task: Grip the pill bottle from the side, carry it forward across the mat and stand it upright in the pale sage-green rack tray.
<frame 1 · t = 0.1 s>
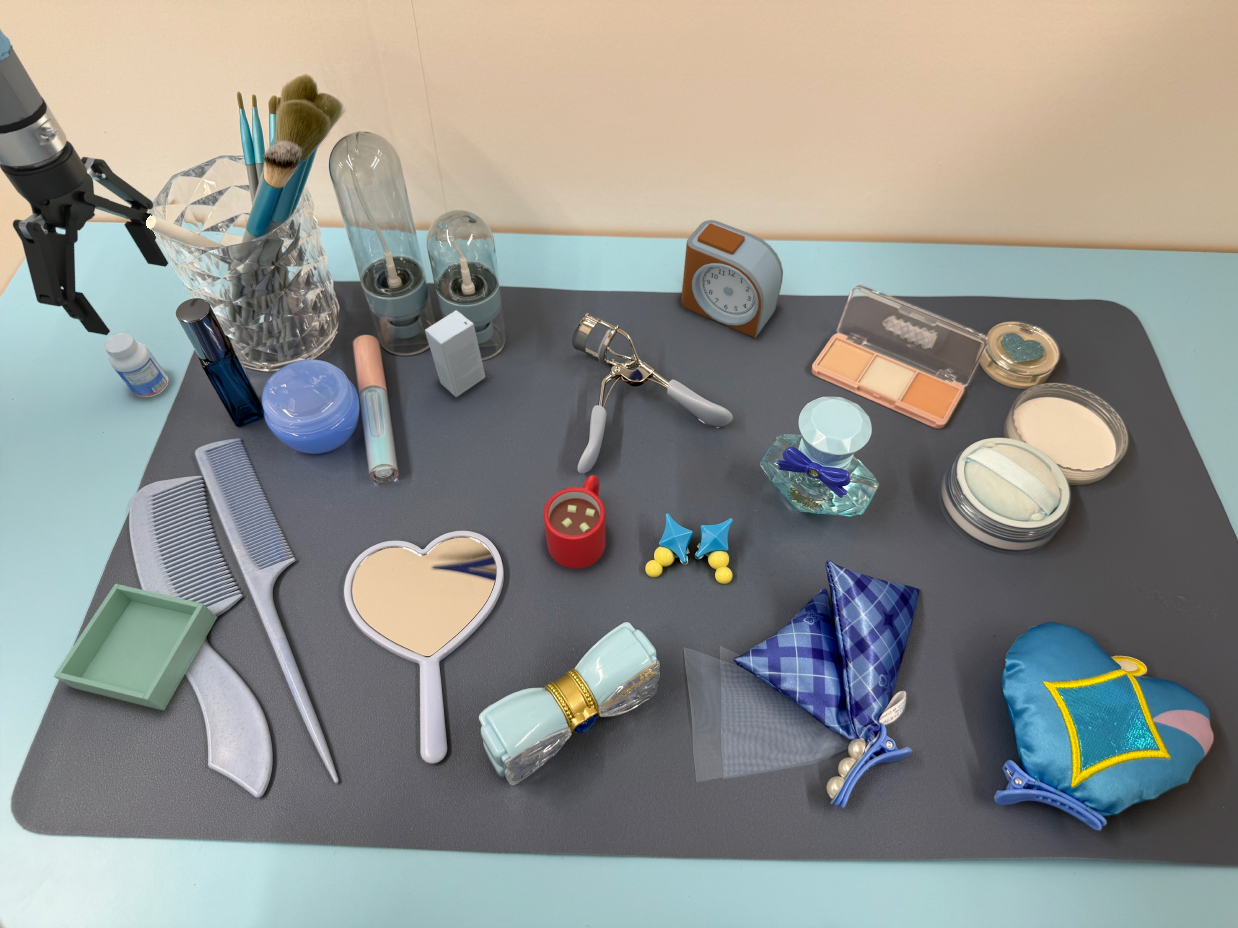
hand: (130, 296, 103), 20 cm above the table, tool pointing down, fingers open, 13 cm apart
mug: (581, 531, 106), on the table
alarm clock: (725, 308, 131), on the table
rack tray: (147, 651, 95), on the table
cosmetic box: (462, 382, 121), on the table
pill bottle: (151, 386, 120), on the table
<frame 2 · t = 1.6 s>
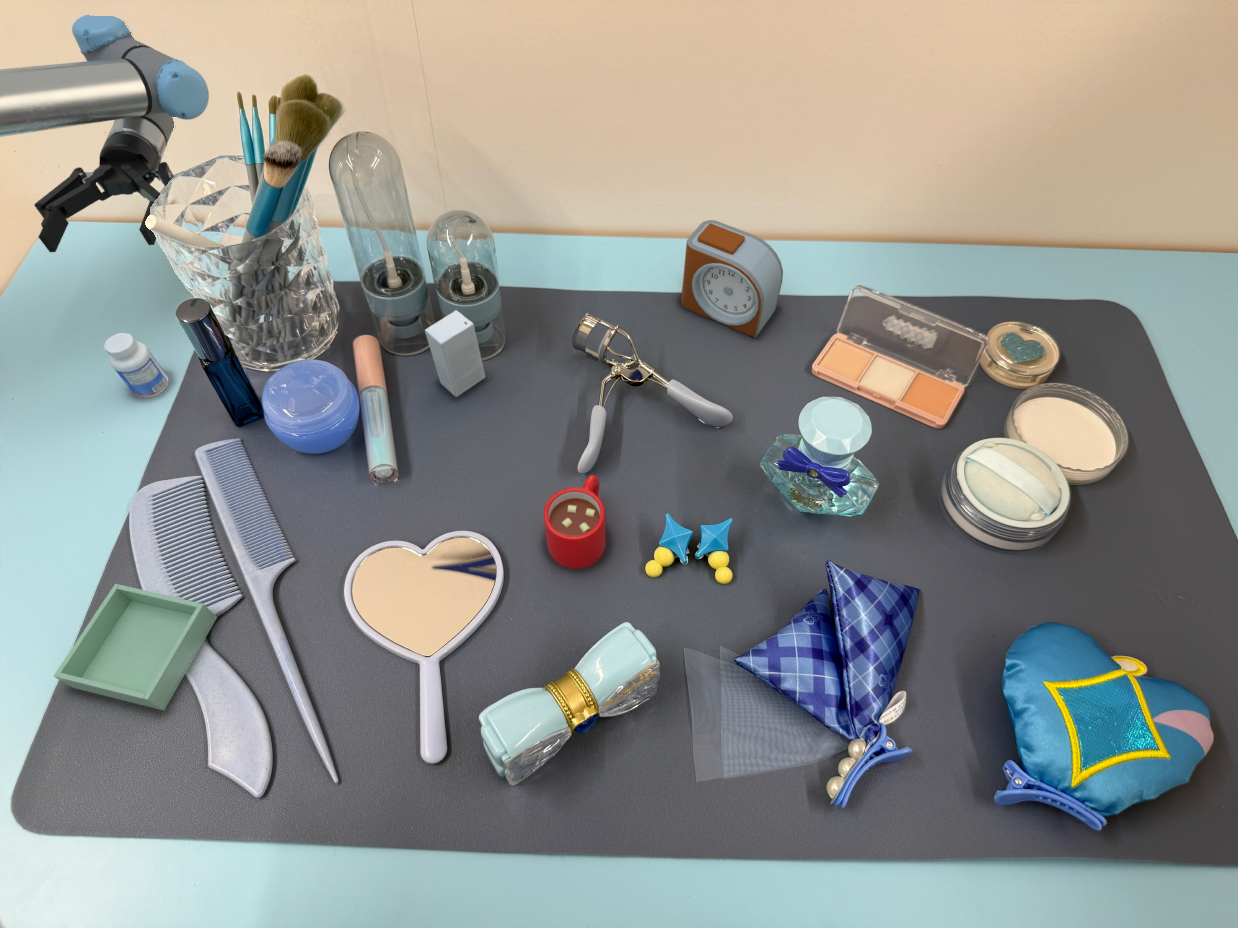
hand: (96, 241, 109), 20 cm above the table, tool horizontal, fingers open, 13 cm apart
nothing on the table moved.
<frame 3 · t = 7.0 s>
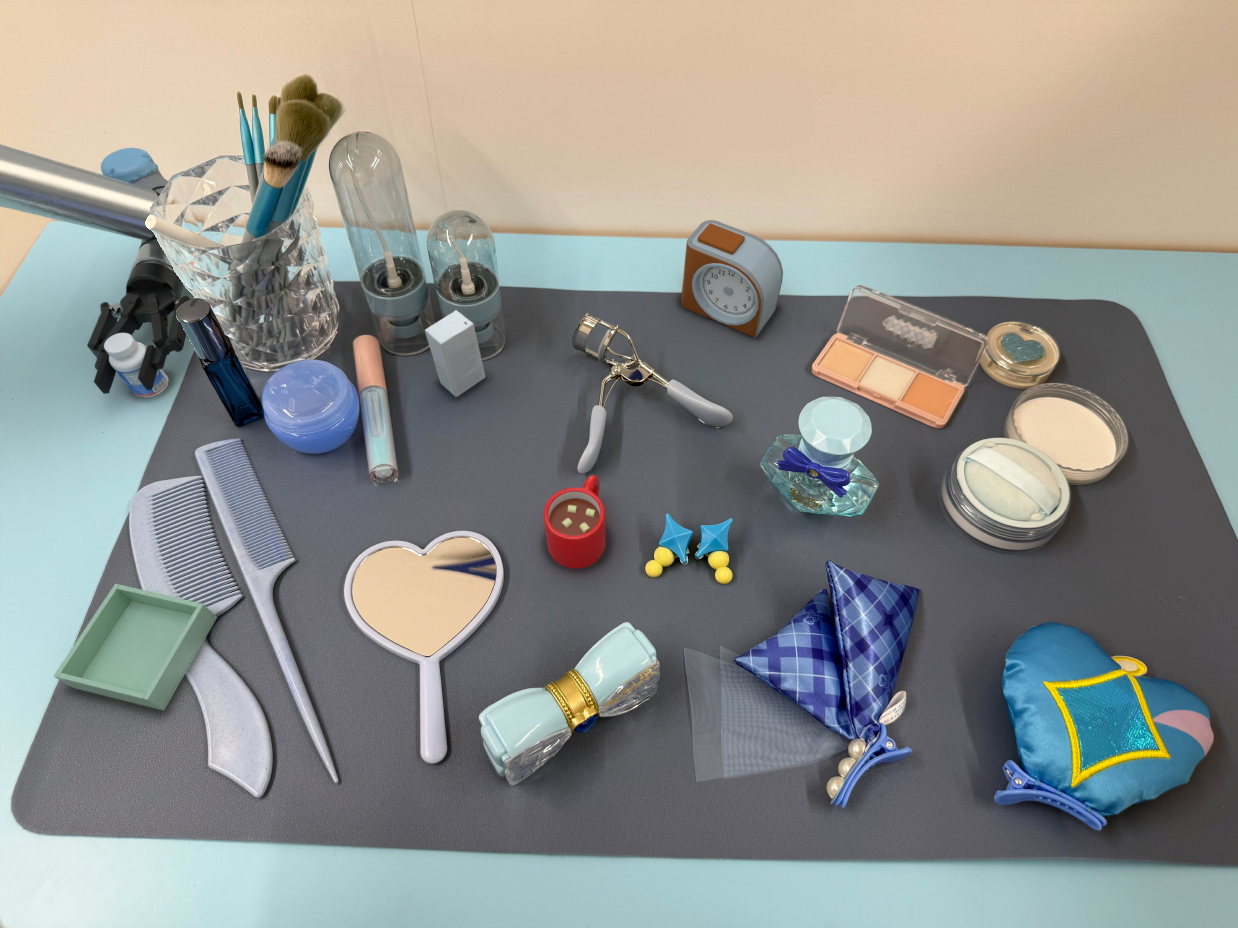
hand: (123, 385, 112), 6 cm above the table, tool horizontal, fingers closed on pill bottle, 5 cm apart
pill bottle: (151, 386, 120), on the table, touching gripper
everything else where it was.
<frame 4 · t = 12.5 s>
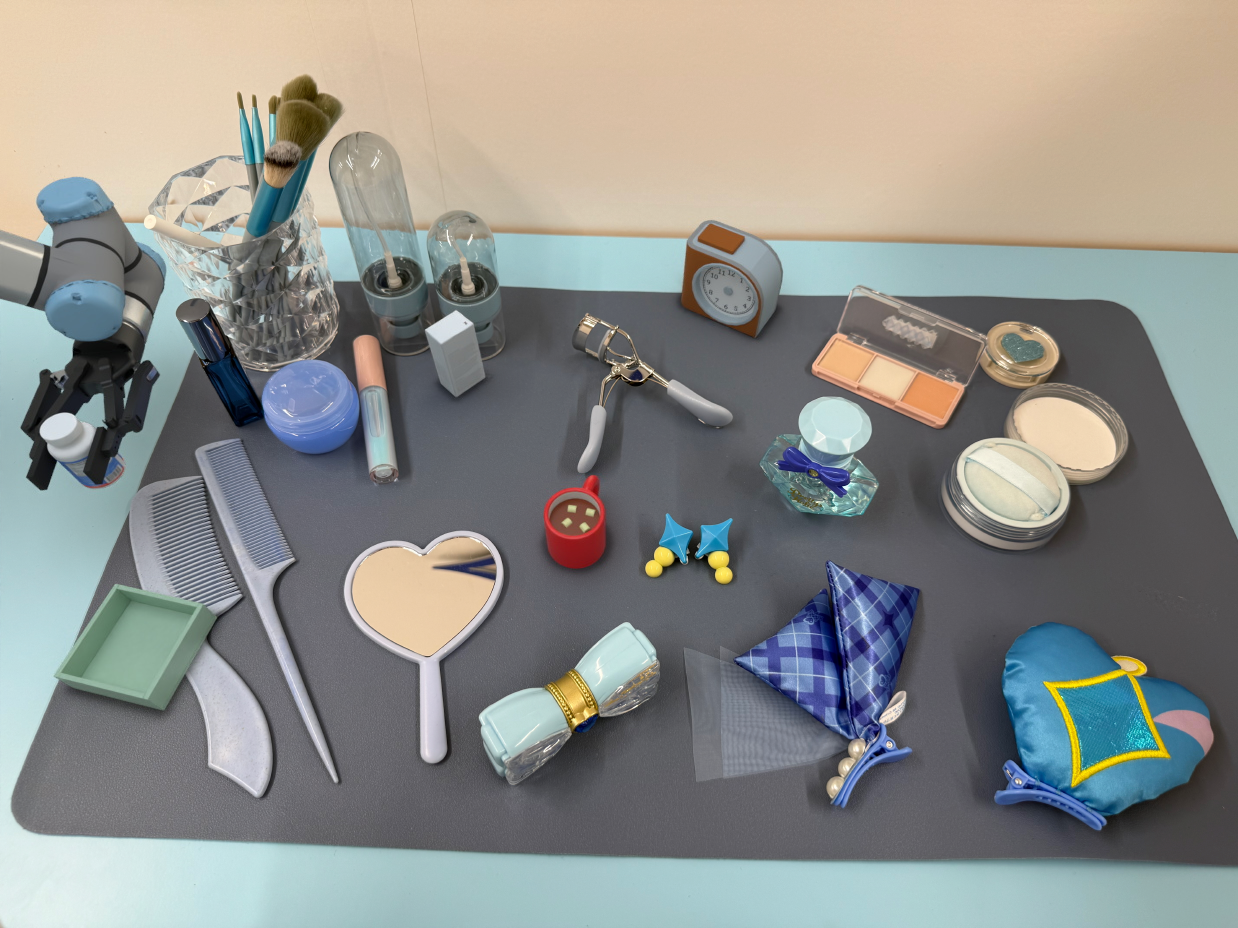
hand: (64, 480, 88), 18 cm above the table, tool horizontal, fingers closed on pill bottle, 5 cm apart
pill bottle: (105, 473, 96), point 12 cm above the table, touching gripper
everything else where it was.
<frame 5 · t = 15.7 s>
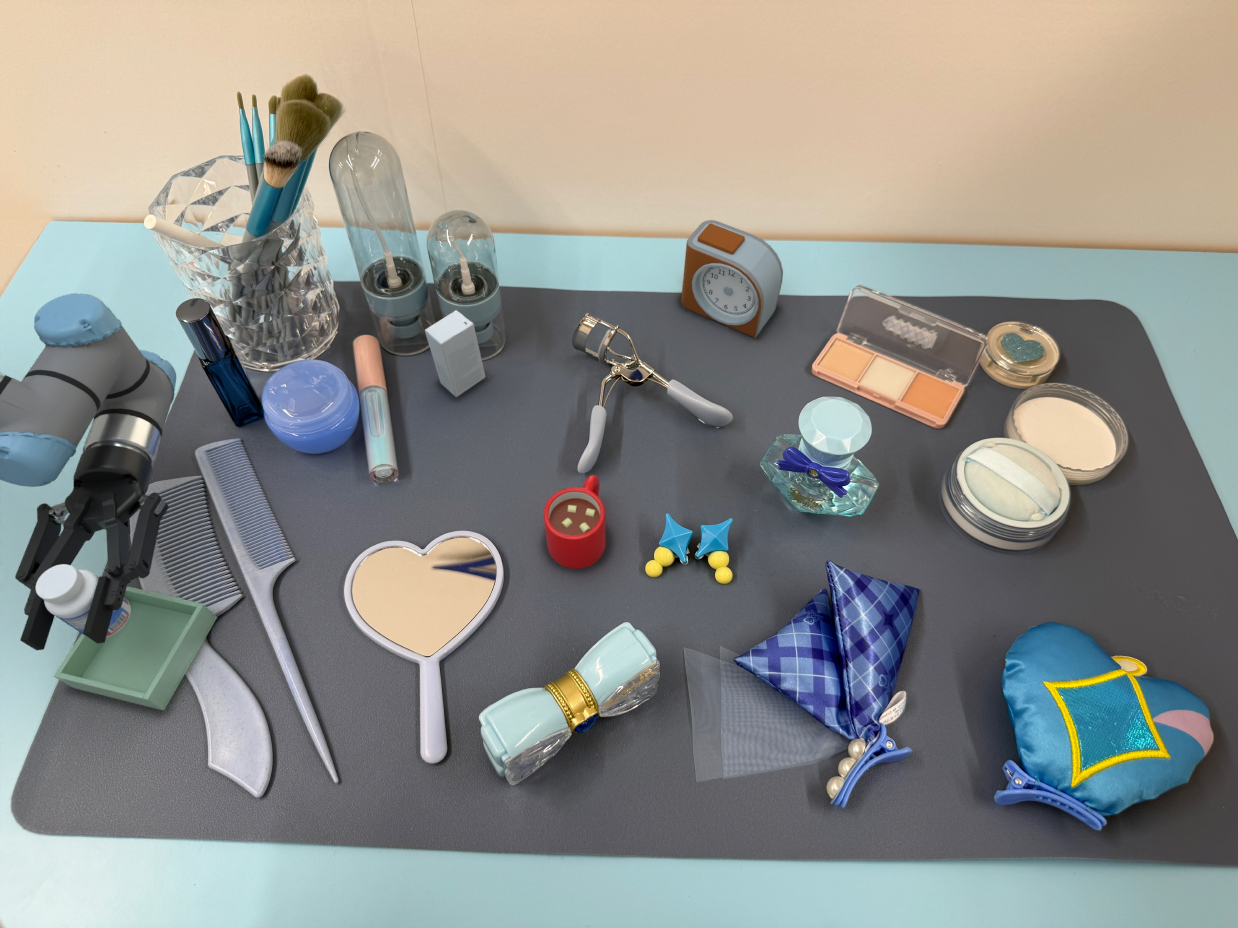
hand: (63, 641, 80), 15 cm above the table, tool horizontal, fingers closed on pill bottle, 5 cm apart
pill bottle: (108, 619, 88), point 9 cm above the table, touching gripper
everything else where it was.
when the fingers open (7 cm above the table, at t = 18.4 s): pill bottle stays where it is, resting on rack tray.
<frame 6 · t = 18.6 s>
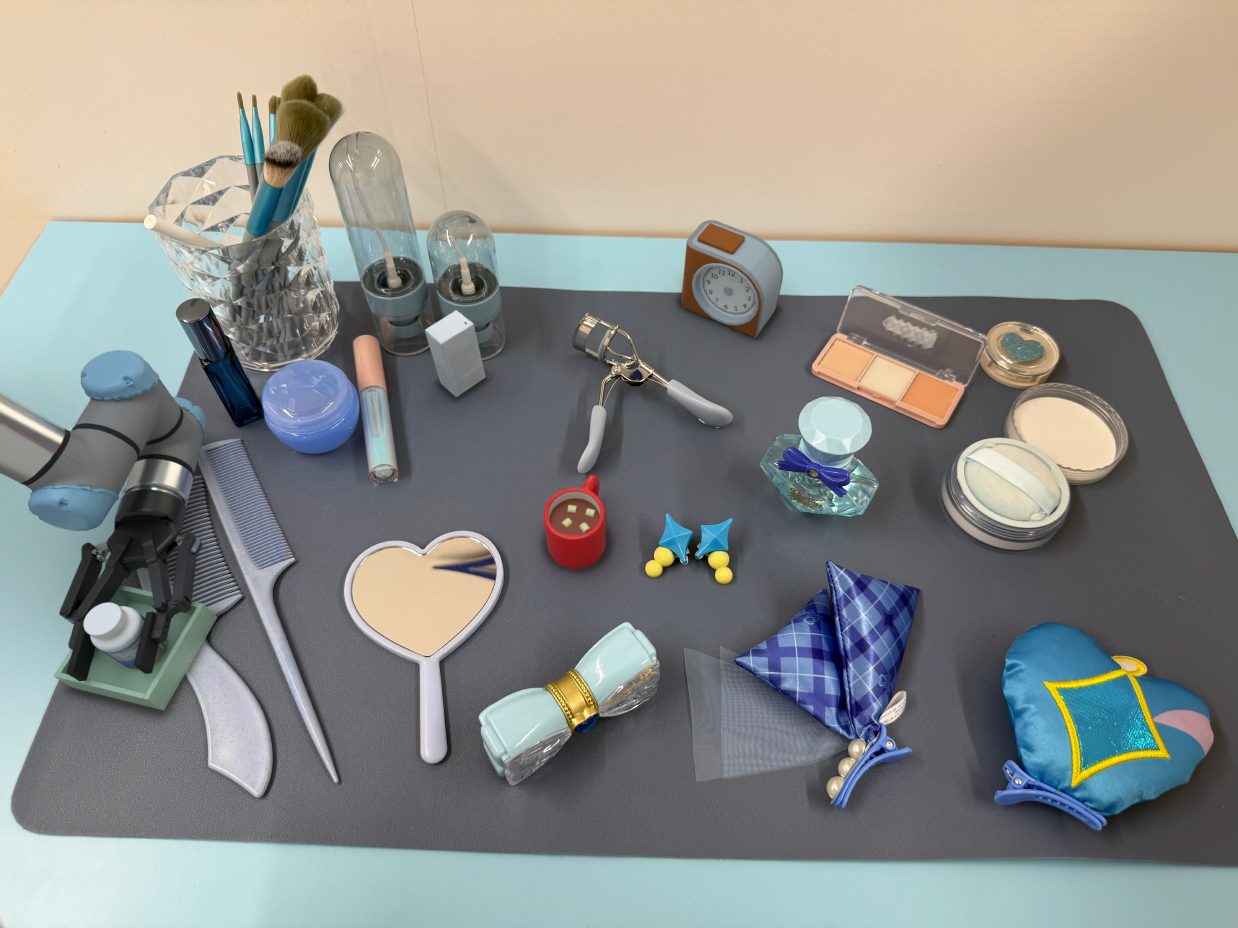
hand: (109, 672, 87), 6 cm above the table, tool horizontal, fingers open, 6 cm apart
pill bottle: (145, 650, 95), resting on rack tray
everything else where it was.
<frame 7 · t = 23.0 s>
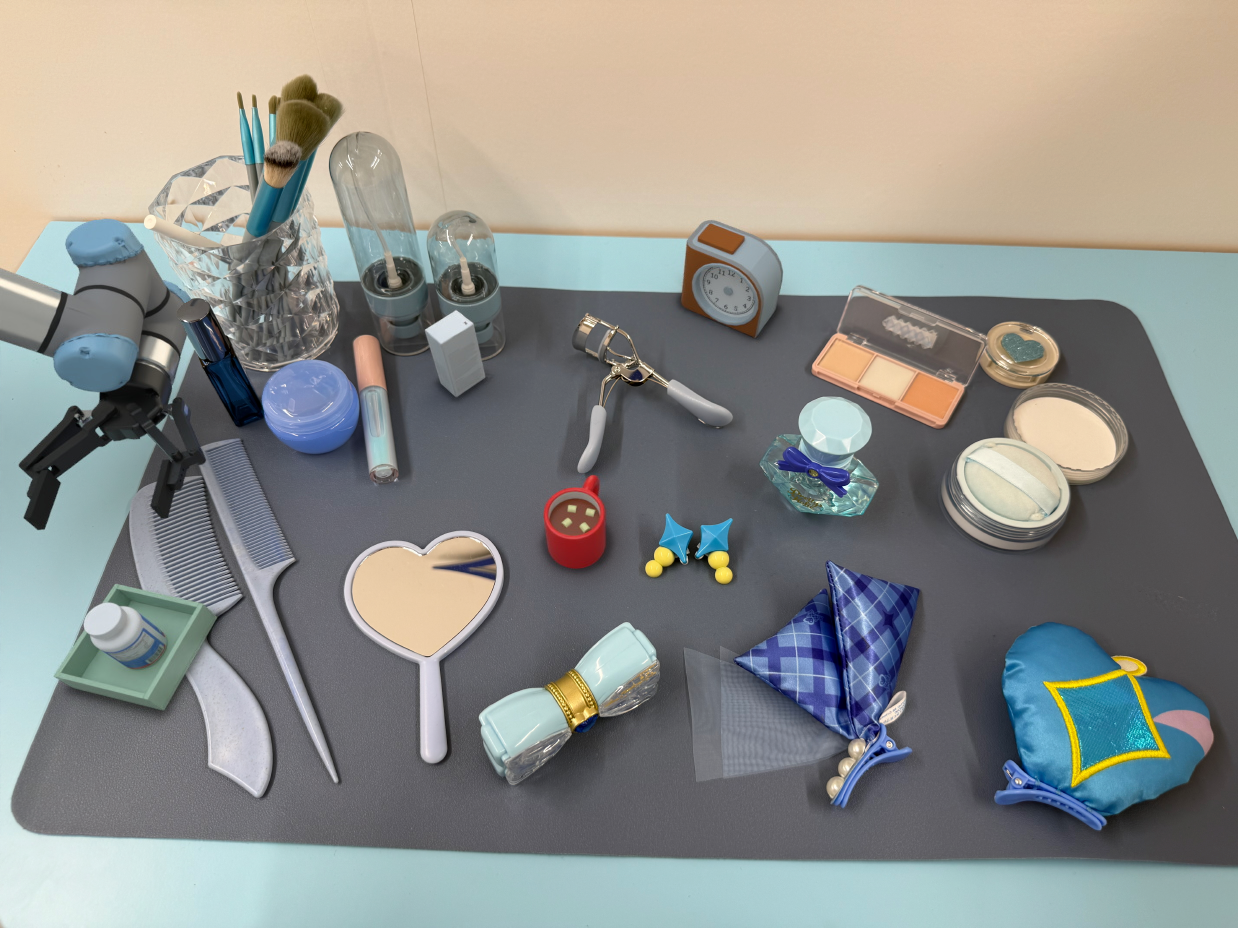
hand: (96, 518, 88), 16 cm above the table, tool horizontal, fingers open, 13 cm apart
nothing on the table moved.
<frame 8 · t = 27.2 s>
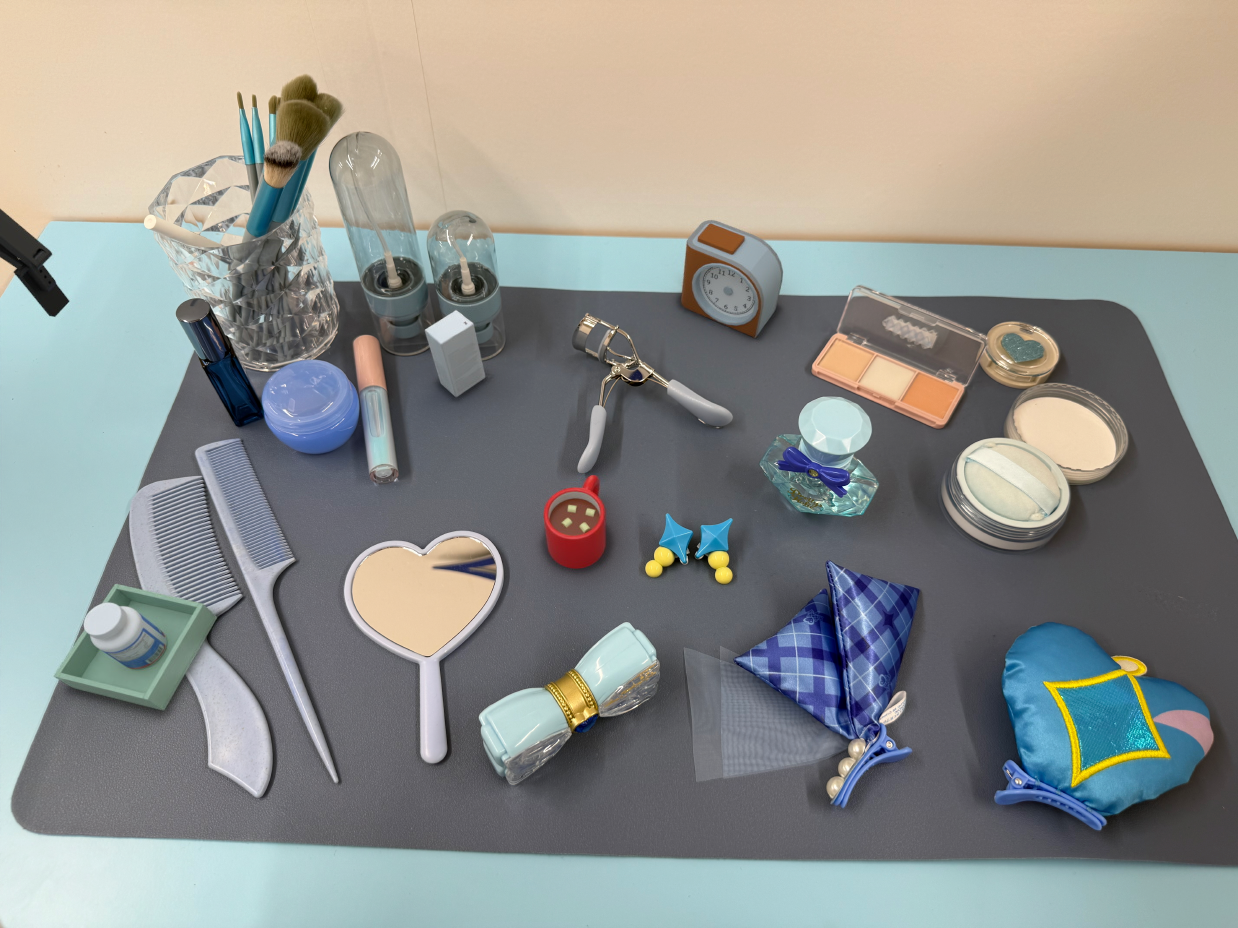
hand: (8, 299, 90), 29 cm above the table, tool pointing down, fingers open, 13 cm apart
nothing on the table moved.
at the end: pill bottle inside the target area in the rack tray (0.0 cm from its centre), point 0.4 cm above the rack tray's base; pill bottle tilted 0°; the gripper is holding nothing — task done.
